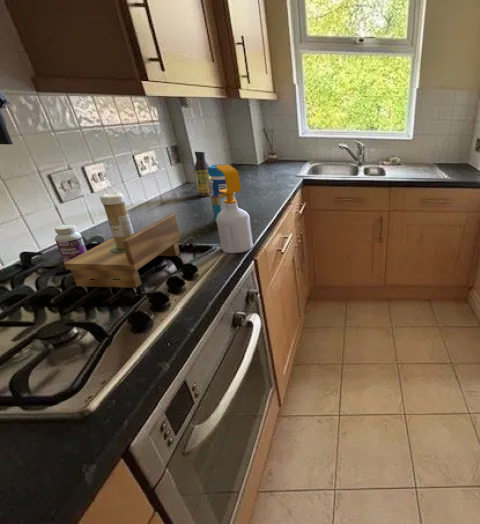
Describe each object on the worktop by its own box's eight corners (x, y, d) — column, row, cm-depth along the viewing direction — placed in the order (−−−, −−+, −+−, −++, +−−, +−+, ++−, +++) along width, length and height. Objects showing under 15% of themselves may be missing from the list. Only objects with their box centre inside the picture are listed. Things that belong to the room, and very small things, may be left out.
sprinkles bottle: (112, 248, 83) (94, 195, 78) (130, 242, 87) (114, 191, 81) (124, 251, 82) (107, 197, 76) (142, 244, 86) (127, 193, 80)
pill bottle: (64, 266, 87) (50, 231, 83) (63, 259, 91) (50, 226, 87) (90, 260, 90) (78, 227, 86) (88, 254, 94) (76, 222, 90)
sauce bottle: (199, 197, 153) (190, 152, 144) (198, 194, 157) (189, 150, 149) (214, 195, 156) (207, 151, 147) (213, 192, 160) (205, 150, 152)
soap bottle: (241, 240, 107) (229, 161, 96) (259, 247, 102) (249, 165, 91) (215, 248, 100) (200, 165, 89) (233, 256, 95) (219, 169, 85)
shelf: (72, 286, 78) (53, 239, 73) (128, 252, 96) (115, 212, 91) (141, 287, 78) (127, 240, 73) (184, 253, 96) (174, 214, 91)
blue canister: (218, 217, 127) (209, 164, 118) (241, 217, 128) (233, 164, 119) (211, 224, 119) (200, 168, 111) (235, 224, 120) (226, 168, 111)
